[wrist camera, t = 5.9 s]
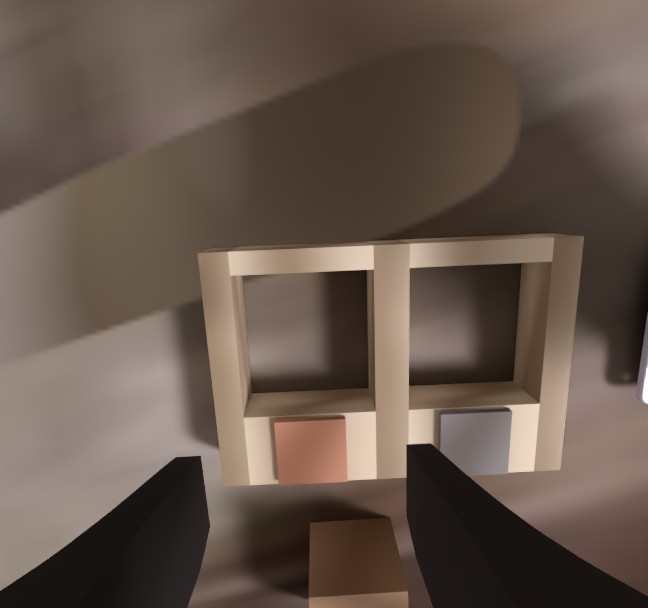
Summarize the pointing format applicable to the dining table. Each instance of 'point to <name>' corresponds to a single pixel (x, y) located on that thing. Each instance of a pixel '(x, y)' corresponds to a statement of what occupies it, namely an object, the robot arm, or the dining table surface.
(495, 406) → the slot rack
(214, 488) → the dining table surface
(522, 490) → the dining table surface
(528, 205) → the dining table surface
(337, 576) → the brown rectangular block
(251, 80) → the dining table surface
